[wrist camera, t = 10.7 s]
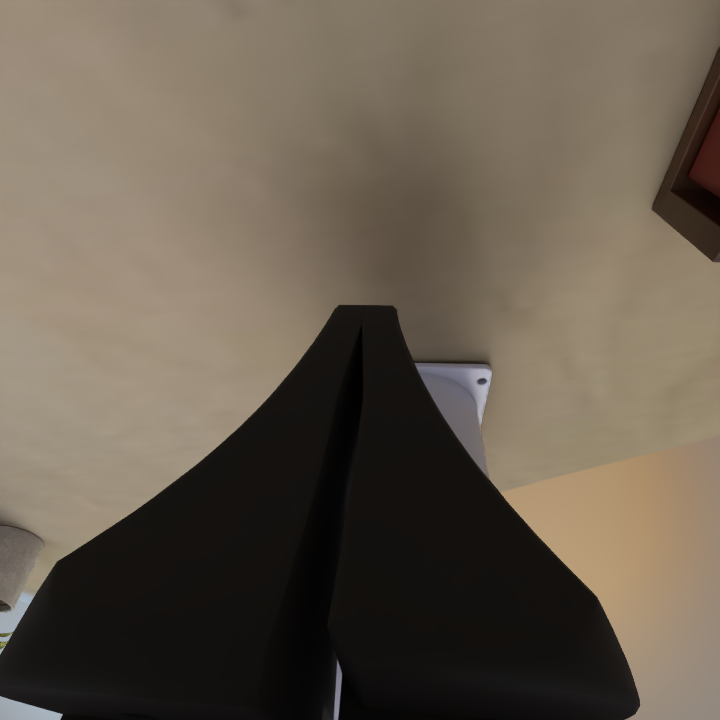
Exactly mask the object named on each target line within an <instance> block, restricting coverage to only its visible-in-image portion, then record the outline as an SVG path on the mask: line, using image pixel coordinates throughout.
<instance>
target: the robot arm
mask: <svg viewBox="0 0 720 720" xmlns="http://www.w3.org/2000/svg"><path fill="white" fill-rule="evenodd" d="M480 378H485V379H483V380H478V379H480ZM491 378H492V369H491V367H490V366H489V365H486V364H447V363H414V361H413V359H412V357H411V354H410V352H409V350H408V347H407V345H406V342H405V339H404V336H403V334H402V331H401V327H400V324H399V319H398V314H397V309H396V308H394V307H393V306H383V305H339V306H338V307H336V308H335V309H334V311H333V313H332V315H331V316H330V318H329V320H328V321H327V323H326V324H325V326H324V327H323V329H322V331H321V332H320V333H319V335H318V336H317V338H316V339H315V341H314V342H313V344H312V345H311V346H310V348H309V349H308V350H307V352H306V353H305V354H304V356H303V357H302V358H301V360H300V361H299V362H298V364H297V365H296V366H295V367H294V369H293V370H292V371H291V372H290V373H289V375H288V376H287V377H286V378H285V379H284V380H283V382H282V383H281V384H280V385H279V386H278V388H277V389H276V390H275V391H274V392H273V393H272V394H271V396H270V397H269V398H268V399H267V400H266V401H265V402H264V403H263V404H262V405H261V406H260V407H259V408H258V409H257V410H256V411H255V412H254V413H253V414H252V415H251V416H250V417H249V418H248V419H247V420H246V421H245V422H244V423H243V424H242V425H241V426H240V427H239V428H238V429H237V430H236V431H235V432H234V433H232V434H231V435H230V436H229V437H228V438H227V439H226V440H225V441H224V442H222V443H221V444H220V445H219V446H218V447H217V448H216V449H215V450H213V451H212V452H211V453H210V454H209V455H208V456H206V457H205V458H204V459H203V460H202V461H200V462H199V463H198V464H197V465H196V466H194V467H193V468H192V469H190V470H189V471H188V472H186V473H185V474H184V475H183V476H181V477H180V478H179V479H177V480H176V481H175V482H173V483H172V484H171V485H169V486H168V487H167V488H165V489H164V490H163V491H162V492H160V493H159V494H158V495H156V496H155V497H154V498H152V499H151V500H150V501H148V502H147V503H145V504H144V505H143V506H141V507H140V508H138V509H137V510H136V511H134V512H133V513H131V514H130V515H128V516H127V517H125V518H124V519H122V520H121V521H119V522H118V523H116V524H115V525H113V526H112V527H110V528H109V529H107V530H105V531H104V532H102V533H101V534H99V535H98V536H96V537H95V538H93V539H92V540H90V541H89V542H87V543H86V544H84V545H83V546H81V547H80V548H78V549H77V550H75V551H73V552H72V553H70V554H69V555H67V556H65V557H64V558H62V559H61V560H59V561H57V563H56V564H55V566H54V567H53V569H52V570H51V572H50V573H49V575H48V576H47V578H46V579H45V581H44V582H43V584H42V585H41V587H40V588H39V590H38V591H37V593H36V595H35V596H34V598H33V600H32V602H31V603H30V605H29V607H28V608H27V610H26V612H25V614H24V615H23V617H22V619H21V620H20V622H19V624H18V626H17V627H16V629H15V631H14V632H13V634H12V636H11V637H10V639H9V641H8V643H7V644H6V646H5V648H4V650H3V651H2V653H1V654H0V696H2V697H5V698H8V699H11V700H15V701H18V702H22V703H25V704H29V705H32V706H36V707H39V708H43V709H47V710H50V711H54V712H57V713H61V714H63V716H62V718H61V720H625V719H627V718H629V717H631V716H633V715H634V714H636V712H637V710H638V708H639V707H640V699H639V696H638V692H637V689H636V686H635V682H634V679H633V676H632V673H631V670H630V668H629V665H628V662H627V660H626V657H625V655H624V653H623V651H622V648H621V646H620V644H619V642H618V640H617V637H616V635H615V633H614V630H613V628H612V626H611V624H610V622H609V620H608V618H607V616H606V614H605V612H604V610H603V608H602V606H601V604H600V602H599V600H598V598H597V597H596V595H595V594H594V593H593V592H592V591H591V590H590V589H589V588H588V587H587V586H586V585H585V584H584V583H583V582H582V581H581V580H580V579H579V578H578V577H577V576H576V575H575V574H574V573H573V572H572V571H571V570H570V569H569V568H568V567H567V566H566V565H565V564H564V563H563V562H562V561H561V560H560V559H559V558H558V557H557V556H556V555H555V554H554V553H553V552H552V551H551V549H550V548H549V547H548V546H547V545H546V544H545V543H544V542H543V541H542V540H541V539H540V538H539V537H538V536H537V535H536V534H535V533H534V531H533V530H532V529H531V528H530V527H529V526H528V525H527V523H525V521H524V520H523V519H522V518H521V517H520V516H519V515H518V513H517V512H516V511H515V510H514V509H513V508H512V507H511V506H510V505H509V503H508V502H507V501H506V500H505V498H504V497H503V496H502V495H501V493H500V492H499V491H498V490H497V488H496V487H495V486H494V485H493V484H492V482H491V481H490V480H489V475H488V469H487V464H486V458H485V452H484V447H483V441H482V435H481V430H480V427H481V423H482V418H483V414H484V409H485V405H486V401H487V396H488V392H489V387H490V383H491Z"/></svg>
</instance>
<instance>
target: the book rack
mask: <svg viewBox="0 0 720 720" xmlns="http://www.w3.org/2000/svg"><path fill="white" fill-rule="evenodd" d="M719 108H720V50H719V52H718V54H717V57H716V59H715V61H714V64H713V66H712V68H711V71H710V73H709V76H708V78H707V80H706V83H705V85H704V87H703V90H702V92H701V94H700V97H699V99H698V102H697V104H696V106H695V109H694V111H693V113H692V116H691V118H690V120H689V123H688V125H687V128H686V130H685V132H684V135H683V137H682V139H681V142H680V144H679V146H678V149H677V151H676V154H675V156H674V158H673V161H672V163H671V165H670V168H669V170H668V172H667V175H666V177H665V180H664V182H663V184H662V186H661V189H660V191H659V193H658V196H657V198H656V201H655V203H654V205H653V208H652V210H653V211H654V212H655V213H656V214H658V215H659V216H660V217H661V218H662V219H663V220H665V221H666V222H667V223H668V224H669V225H670V226H672V227H673V228H674V229H675V230H676V231H677V232H679V233H680V234H681V235H682V236H683V237H684V238H686V239H687V240H688V241H689V242H690V243H691V244H693V245H694V246H695V247H696V248H697V249H698V250H700V251H701V252H702V253H703V254H704V255H705V256H707V257H708V258H709V259H710V260H711V261H712V262H720V198H719V197H718V196H716V195H715V194H713V193H711V192H710V191H708V190H707V189H705V188H704V187H702V186H700V185H699V184H697V183H696V182H694V181H692V180H691V179H689V178H688V176H689V173H690V171H691V169H692V167H693V165H694V163H695V160H696V158H697V156H698V154H699V152H700V149H701V147H702V145H703V143H704V141H705V138H706V136H707V134H708V132H709V130H710V128H711V125H712V123H713V121H714V119H715V117H716V114H717V112H718V110H719Z"/></svg>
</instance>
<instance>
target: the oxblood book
mask: <svg viewBox="0 0 720 720" xmlns="http://www.w3.org/2000/svg"><path fill="white" fill-rule="evenodd" d="M688 178H689V179H691V180H692V181H694V182H696V183H697V184H699V185H700V186H702V187H704V188H705V189H707V190H708V191H710V192H711V193H713V194H715V195H716V196H718V197H719V198H720V108H719V110H718V112H717V114H716V117H715V119H714V121H713V123H712V125H711V128H710V130H709V132H708V134H707V136H706V138H705V141H704V143H703V145H702V147H701V149H700V152H699V154H698V156H697V158H696V160H695V163H694V165H693V167H692V169H691V171H690V173H689V176H688Z"/></svg>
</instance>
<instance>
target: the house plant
mask: <svg viewBox="0 0 720 720" xmlns="http://www.w3.org/2000/svg"><path fill="white" fill-rule="evenodd" d="M43 545H44V543H43V541H42V540H41V539H40V538H39V537H37V536H35V535H34V534H31V533H29V532H27V531H24V530H21V529H18V528H14V527H9V526H0V612H10V611H12V610H13V609H14V607H15V605H16V603H17V601H18V599H19V597H20V595H21V592H22V590H23V588H24V586H25V584H26V582H27V580H28V577H29V575H30V573H31V571H32V569H33V567H34V565H35V563H36V560H37V558H38V556H39V554H40V552H41V550H42V548H43ZM12 633H13V632H12ZM12 633H5V634H0V637H6V636H8V635H10V634H12ZM7 643H8V641H7V642H0V649H2V648H3V647H4V646H5V645H6V644H7Z"/></svg>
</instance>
